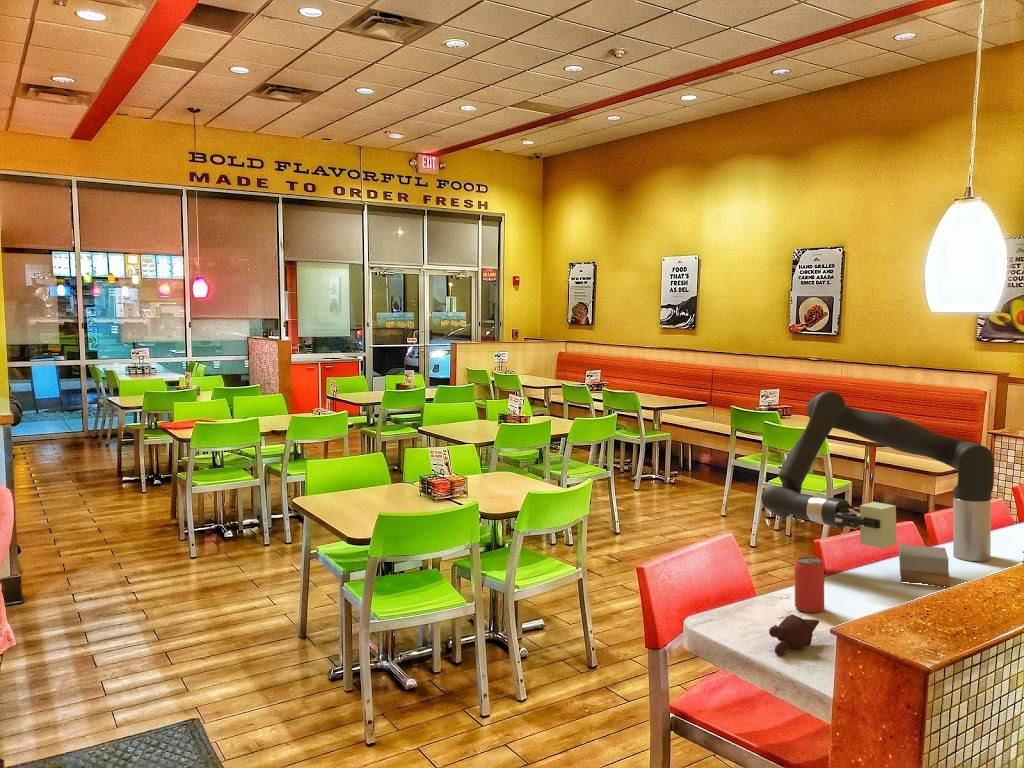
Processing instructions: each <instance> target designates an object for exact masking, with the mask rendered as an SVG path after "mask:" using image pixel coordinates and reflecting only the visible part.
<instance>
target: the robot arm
mask: <svg viewBox="0 0 1024 768" xmlns="http://www.w3.org/2000/svg"><path fill="white" fill-rule="evenodd" d="M805 409H806V415H807V416H808V417H809V420H808V422H807V425H806V426H805V429H804V430H803V433H802V434H801V435H800V437H799V439H798V440H797V441H796V442H795V444H794V446H793V447H792V448H791V450H790V452H789V453H788V455H787V457H786V459H785V461H784V463H783V465H782V466H781V468H780V470H779V473H778V479H779V481H780V482H781V486H779V485H772V486H771V485H770V486H768V487H767V488H765V489H764V490H763V491H762V493H761V496H760V499H761V503H762V505H763V506H764V507H765V508H767V509H768V510H769V511H771V512H772V513H773V514H775V515H776V516H777V517H780V518H783V519H784V518H788V517H789V516H792V515H793V516H794V517H795V518H799V519H801V520H807V521H811V522H814V523H816V524H821V525H825V526H831V527H833V528H834V527H835V528H841V529H842V528H845V527H851V528H855V529H857V528H860V527H865V526H866V527H871V528H876V529H878V528H880V520H877V519H872V518H867V517H866V518H865V517H863V516H860V507H858V506H857V507H855V506H854V507H852V505H851V504H850V502H849V501H848V500H846V499H841V498H837V497H831V496H829V497H828V496H824V495H814V494H806V493H801V492H802V488H803V483H804V481H805V480H806V477H807V476H808V473H809V471H810V469H811V467H812V465H813V463H814V461H815V459H816V457H817V455H818V453H819V451H820V449H821V447H822V446H823V444H824V442H825V441H826V439H827V437H828V436H829V435H830V433H831V431H832V430H833V429H835V430H841V431H844V432H848V433H851V434H853V435H856V436H857V437H858V436H859V437H860V438H864V439H866V440H868V441H871V442H874V443H876V444H879V445H882V446H884V447H887V448H890V449H893V450H896V451H899V452H902V453H906V454H911V455H915V456H922V457H927V458H930V459H933V460H936V461H937V462H939V463H940V462H941V463H942V464H945V465H947V466H949V467H951V468H952V469H955V470H957V483H956V485H955V486H954V488H953V491H952V497H953V500H952V501H953V505H952V507H953V513H952V514H953V517H952V519H953V522H952V526H953V528H952V533H953V535H952V536H953V538H952V543H953V544H952V550H953V551H952V553H953V554H952V556H954V557H955V558H957V559H960V560H962V561H963V560H964V561H971V562H987V561H990V560H991V545H992V544H991V543H992V542H991V541H992V540H991V538H992V537H991V533H992V532H991V523H992V522H991V520H992V519H991V517H992V516H991V512H992V510H991V508H992V507H991V494H992V492H993V489H994V485H995V481H994V480H995V458H994V455H993V452H992V451H991V450H990V449H989V448H988V447H986V446H984V445H982V444H980V443H977V442H972V441H966V440H963V439H962V440H961V439H958V438H953V437H951V436H950V437H949V436H945V435H942V434H939V433H936V432H934V431H932V430H930V429H928V428H927V427H924V426H923V425H920V424H918V423H915V422H914V421H911V420H908V419H905V418H902V417H899V416H895V415H892V414H889V413H882V412H877V411H876V412H875V411H867V410H862V409H857V408H853V407H850V406H848V405H846V402H845V399H844V398H843V396H842V395H841V394H840V393H838V392H836V391H829V390H828V391H824V392H820V393H819V394H816V395H815V396H813V397H812V398H811V399H810V400H809V401H808V402H807V404H806V408H805Z"/></svg>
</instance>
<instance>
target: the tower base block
mask: <svg viewBox="0 0 1024 768" xmlns="http://www.w3.org/2000/svg"><path fill="white" fill-rule="evenodd" d="M899 575H900V576H901V578H900V583H901V582H909V583H922V584H928V585H934V586H940V587H939V588H944V589H945V588H946V589H947V588H948V587H949V588H950V573H949V574H939V573H928V572H917V571H906V570H900V569H899ZM900 576H899V577H900ZM934 586H933V587H934ZM944 586H945V587H944ZM949 588H948V589H949Z"/></svg>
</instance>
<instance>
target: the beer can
mask: <svg viewBox="0 0 1024 768" xmlns="http://www.w3.org/2000/svg"><path fill="white" fill-rule="evenodd" d="M793 569H794V606H795V608H796V609H797V610H798V611H801V612H803V613H808V614H817V613H821V612H823V611H824V610H825V569H824V565H823V561H822V559H820V558H817V557H814V556H813V557H812V556H801V557H797V559H796V561H795V564H794V568H793Z"/></svg>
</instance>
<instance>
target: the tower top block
mask: <svg viewBox="0 0 1024 768" xmlns="http://www.w3.org/2000/svg"><path fill="white" fill-rule="evenodd" d="M898 560H899V563H898V564H899V571H900V570H906V571H917V572H928V573H939V574H949V575H950V571H949V570H950V569H949V555H948V553H947V550H946V548H945V547H941V546H940V547H939V546H938V547H937V546H928V545H927V546H924V545H911V544H898Z"/></svg>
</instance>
